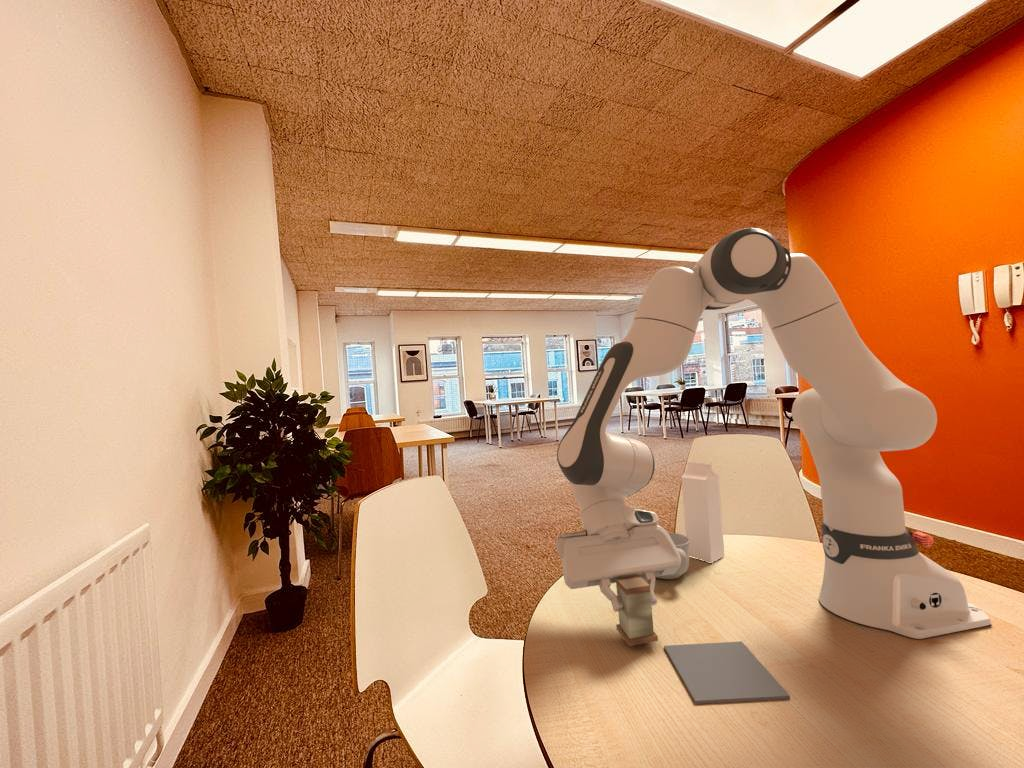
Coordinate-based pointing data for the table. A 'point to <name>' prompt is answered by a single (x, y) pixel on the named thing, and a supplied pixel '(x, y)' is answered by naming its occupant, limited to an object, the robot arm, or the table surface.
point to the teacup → (683, 549)
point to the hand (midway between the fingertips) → (636, 607)
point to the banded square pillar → (635, 611)
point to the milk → (702, 512)
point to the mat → (723, 673)
